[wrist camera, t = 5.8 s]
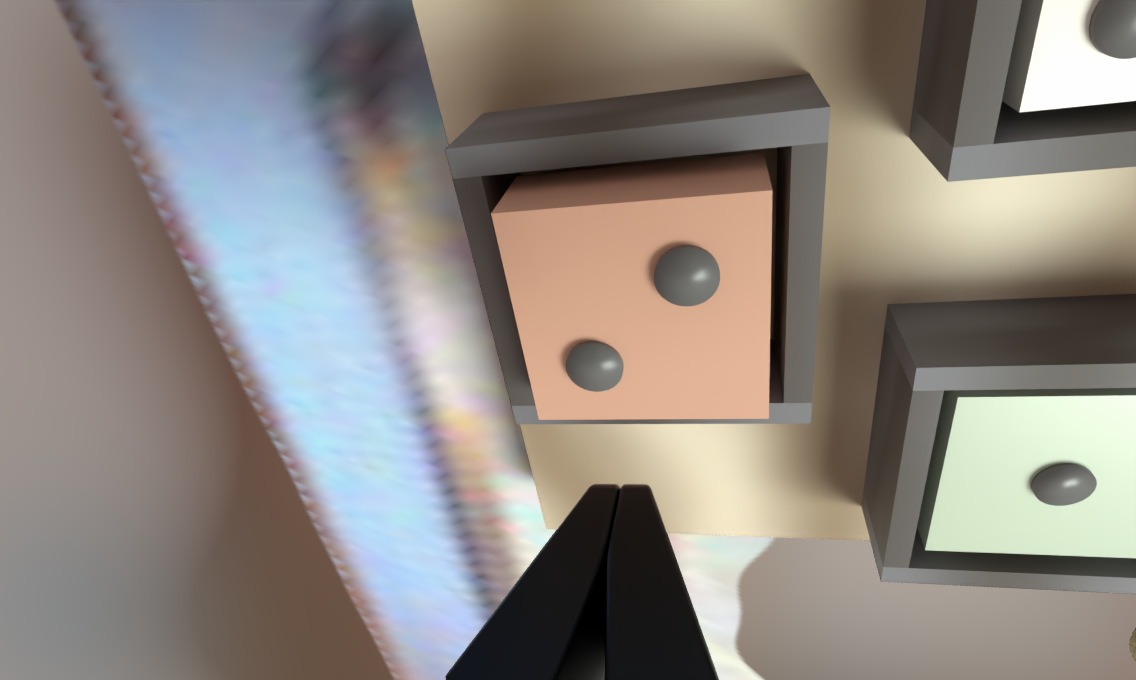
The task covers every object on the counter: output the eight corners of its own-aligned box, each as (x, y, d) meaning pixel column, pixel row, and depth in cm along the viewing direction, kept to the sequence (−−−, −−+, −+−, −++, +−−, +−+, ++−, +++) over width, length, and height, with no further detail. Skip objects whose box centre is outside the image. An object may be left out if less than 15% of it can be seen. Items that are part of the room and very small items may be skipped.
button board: (1608, -610, 9) (2316, -1010, 5) (1124, 497, 20) (1223, 636, 16) (383, -270, 13) (249, -342, 9) (557, 486, 24) (529, 594, 20)
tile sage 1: (1179, 338, 14) (1245, 398, 13) (1111, 495, 17) (1159, 564, 15) (931, 345, 15) (960, 401, 14) (905, 492, 18) (926, 555, 16)
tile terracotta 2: (763, 152, 12) (773, 193, 11) (761, 363, 15) (769, 423, 13) (516, 176, 14) (488, 216, 12) (555, 367, 16) (537, 423, 14)
